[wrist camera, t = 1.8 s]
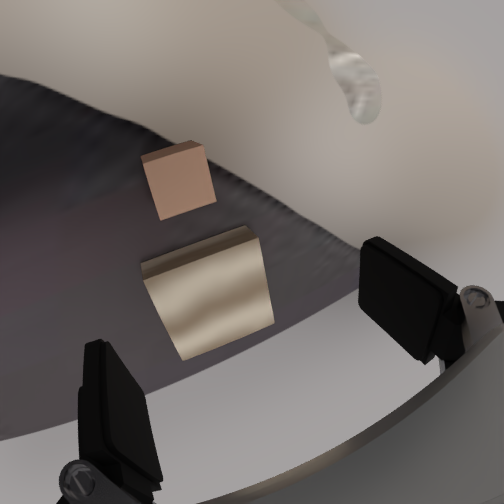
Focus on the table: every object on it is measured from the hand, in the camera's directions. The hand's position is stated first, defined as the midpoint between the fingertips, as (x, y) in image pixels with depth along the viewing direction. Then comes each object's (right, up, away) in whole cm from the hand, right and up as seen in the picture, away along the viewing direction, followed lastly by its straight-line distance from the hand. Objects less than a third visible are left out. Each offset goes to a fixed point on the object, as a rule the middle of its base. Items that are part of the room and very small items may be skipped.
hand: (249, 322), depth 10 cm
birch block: (-5, -2, +25) cm, 26 cm away
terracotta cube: (-8, +10, +18) cm, 22 cm away
